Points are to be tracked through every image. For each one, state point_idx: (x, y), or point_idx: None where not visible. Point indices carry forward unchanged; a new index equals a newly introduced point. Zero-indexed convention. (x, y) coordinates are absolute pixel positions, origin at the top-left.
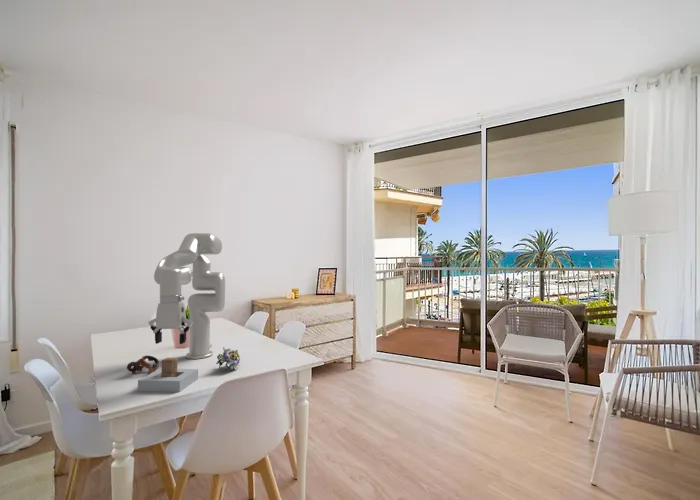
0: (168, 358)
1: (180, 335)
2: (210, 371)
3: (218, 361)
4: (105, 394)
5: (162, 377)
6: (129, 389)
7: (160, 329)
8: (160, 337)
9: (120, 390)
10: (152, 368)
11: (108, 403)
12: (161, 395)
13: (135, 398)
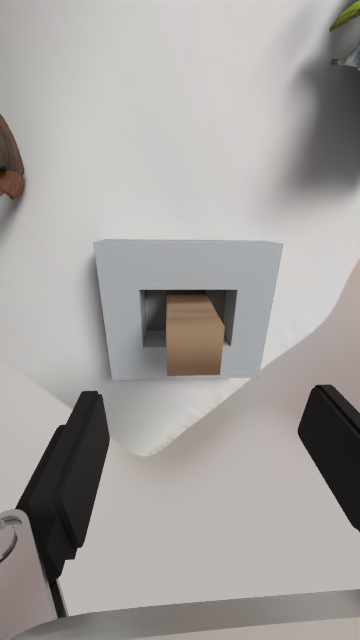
0: (183, 345)
1: (356, 516)
2: (292, 118)
3: (357, 14)
4: (46, 383)
5: None
6: (82, 348)
7: (37, 579)
8: (90, 447)
9: (61, 356)
10: (10, 177)
11: (108, 425)
12: (207, 380)
13: (151, 399)
